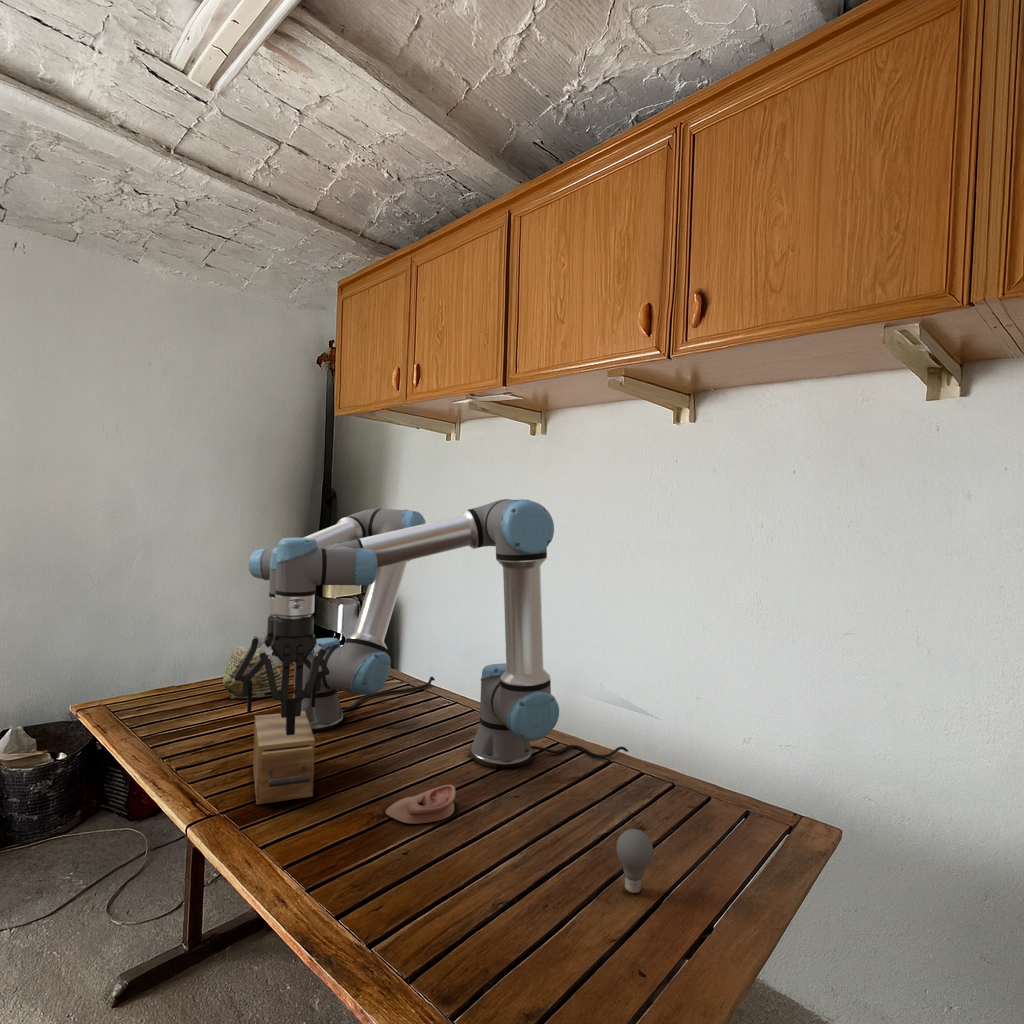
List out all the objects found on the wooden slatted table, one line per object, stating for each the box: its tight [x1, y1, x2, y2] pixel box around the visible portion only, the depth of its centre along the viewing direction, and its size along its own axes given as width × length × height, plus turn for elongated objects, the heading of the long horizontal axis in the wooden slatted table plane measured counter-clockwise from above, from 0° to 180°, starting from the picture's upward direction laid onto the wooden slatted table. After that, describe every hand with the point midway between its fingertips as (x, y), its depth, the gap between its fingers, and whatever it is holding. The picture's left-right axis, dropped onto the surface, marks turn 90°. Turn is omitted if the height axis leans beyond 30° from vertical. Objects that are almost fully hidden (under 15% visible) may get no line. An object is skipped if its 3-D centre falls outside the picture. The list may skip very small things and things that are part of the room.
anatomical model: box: [385, 784, 456, 825], centre depth 129 cm, size 13×4×12 cm
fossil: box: [222, 646, 282, 699], centre depth 198 cm, size 9×18×15 cm, turn 132°
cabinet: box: [252, 711, 316, 805], centre depth 140 cm, size 19×11×12 cm, turn 24°
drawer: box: [260, 746, 313, 804], centre depth 135 cm, size 23×10×10 cm, turn 24°
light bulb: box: [615, 828, 654, 894], centre depth 106 cm, size 6×6×10 cm
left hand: (281, 708), depth 144 cm, fingers open, 13 cm apart
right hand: (290, 732), depth 127 cm, fingers closed
